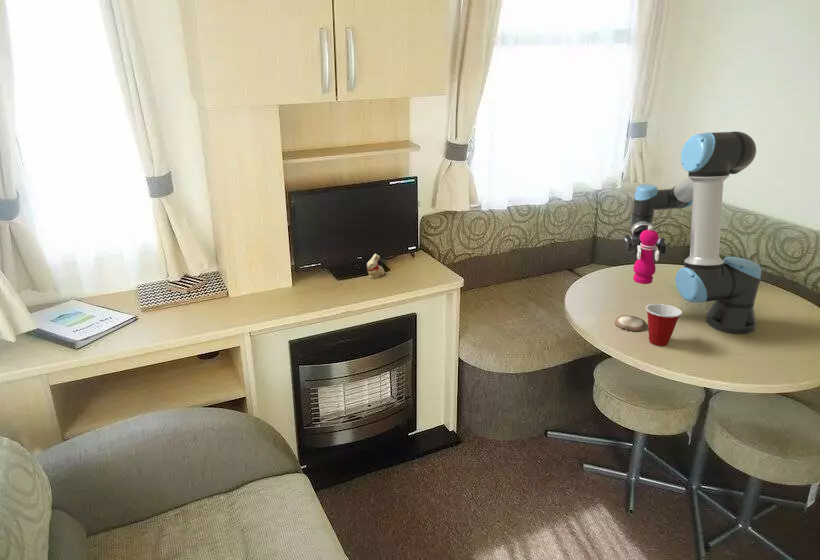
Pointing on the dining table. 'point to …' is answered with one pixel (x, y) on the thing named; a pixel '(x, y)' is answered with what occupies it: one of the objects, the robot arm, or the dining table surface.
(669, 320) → the plastic cup
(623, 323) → the brown cream oval disc
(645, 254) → the pepper mill
